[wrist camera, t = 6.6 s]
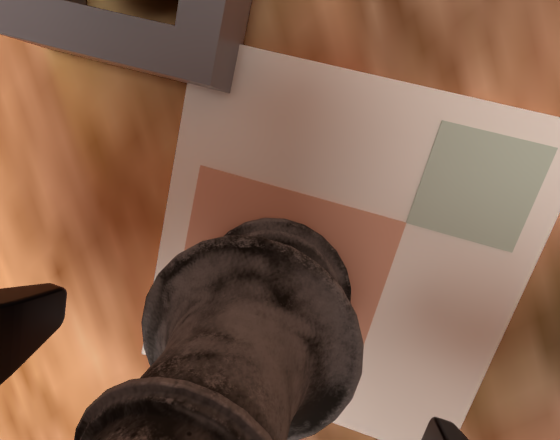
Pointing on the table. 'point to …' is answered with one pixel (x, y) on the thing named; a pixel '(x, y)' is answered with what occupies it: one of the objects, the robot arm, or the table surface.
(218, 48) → the button housing
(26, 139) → the table surface
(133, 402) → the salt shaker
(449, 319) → the sheet
